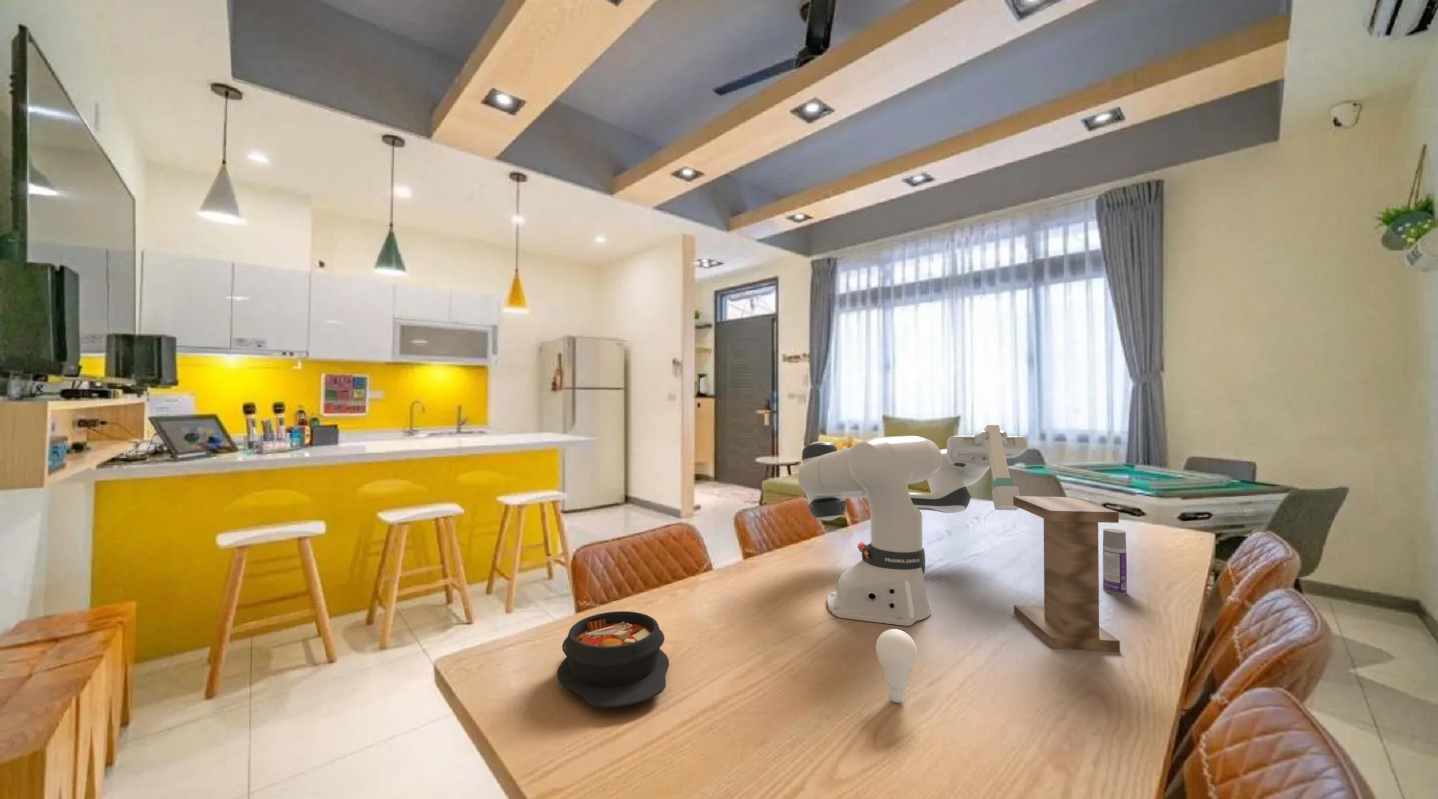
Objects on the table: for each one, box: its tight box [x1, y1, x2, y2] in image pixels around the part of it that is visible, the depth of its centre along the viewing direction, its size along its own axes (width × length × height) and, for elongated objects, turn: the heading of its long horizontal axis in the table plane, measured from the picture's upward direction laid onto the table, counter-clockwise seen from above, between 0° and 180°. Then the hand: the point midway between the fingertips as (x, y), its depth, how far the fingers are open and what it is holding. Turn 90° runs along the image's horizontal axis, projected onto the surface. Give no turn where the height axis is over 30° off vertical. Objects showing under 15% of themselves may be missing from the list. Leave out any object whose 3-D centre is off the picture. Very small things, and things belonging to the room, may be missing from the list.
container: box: [1102, 528, 1128, 596], centre depth 129 cm, size 5×5×15 cm
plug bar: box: [983, 424, 1021, 511], centre depth 137 cm, size 5×22×4 cm
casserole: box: [556, 610, 670, 709], centre depth 89 cm, size 25×19×8 cm
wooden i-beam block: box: [1013, 495, 1121, 653], centre depth 106 cm, size 12×16×26 cm
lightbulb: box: [875, 628, 918, 704], centre depth 81 cm, size 6×6×11 cm
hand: (995, 433), depth 139 cm, fingers closed on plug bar, 3 cm apart
